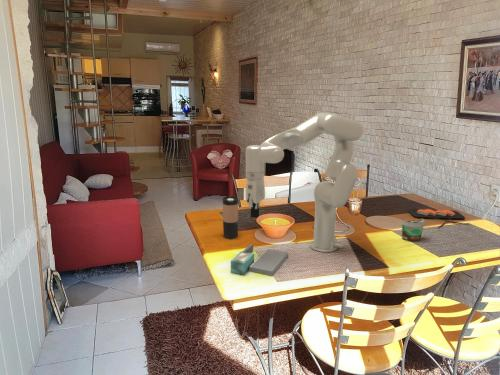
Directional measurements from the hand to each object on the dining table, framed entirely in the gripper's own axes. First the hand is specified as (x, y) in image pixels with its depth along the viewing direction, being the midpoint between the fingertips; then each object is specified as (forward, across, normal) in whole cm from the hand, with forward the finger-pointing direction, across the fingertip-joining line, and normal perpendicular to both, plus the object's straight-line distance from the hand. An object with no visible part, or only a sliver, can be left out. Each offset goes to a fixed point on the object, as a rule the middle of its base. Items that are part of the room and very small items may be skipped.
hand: (254, 216), depth 163 cm
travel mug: (+19, +18, +21) cm, 34 cm away
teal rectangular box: (+19, -12, +1) cm, 22 cm away
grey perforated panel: (+19, -3, -4) cm, 20 cm away
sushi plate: (+21, +91, -77) cm, 121 cm away
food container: (+20, +51, -64) cm, 84 cm away
